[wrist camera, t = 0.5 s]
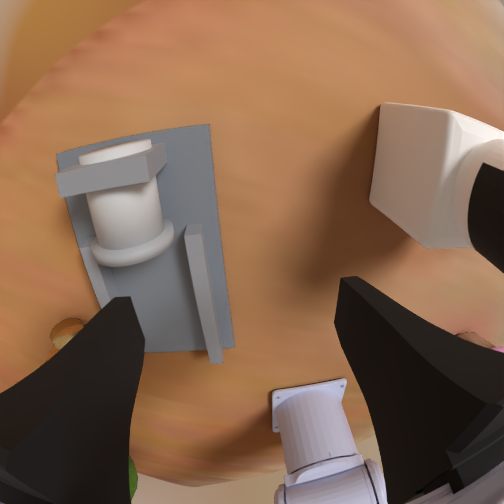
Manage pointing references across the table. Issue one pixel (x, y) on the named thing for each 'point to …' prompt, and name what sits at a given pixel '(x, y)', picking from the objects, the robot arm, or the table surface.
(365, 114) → the table surface
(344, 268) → the table surface
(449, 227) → the medicine bottle
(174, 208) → the grey piece
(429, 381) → the robot arm
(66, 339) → the valve
